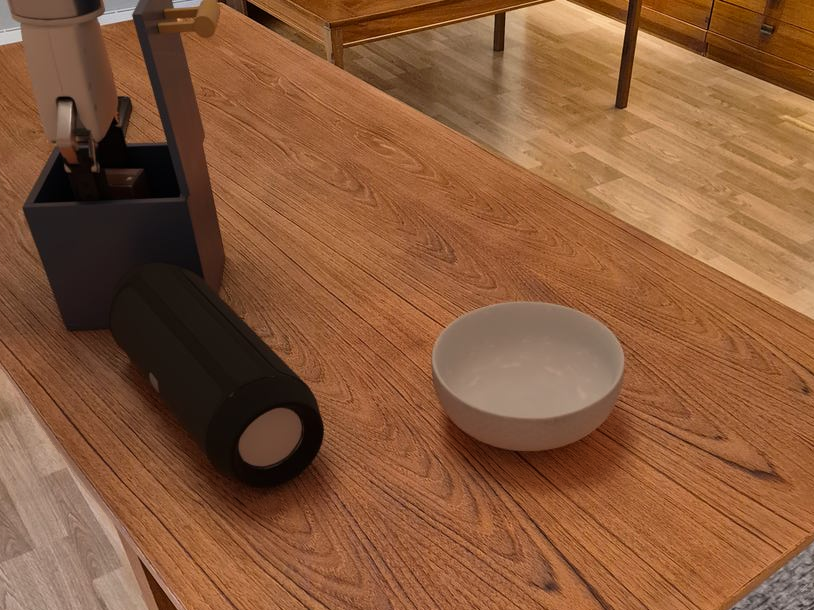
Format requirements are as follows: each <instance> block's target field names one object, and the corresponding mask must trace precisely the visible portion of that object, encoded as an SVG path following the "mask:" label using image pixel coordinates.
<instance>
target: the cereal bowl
mask: <svg viewBox="0 0 814 610" xmlns="http://www.w3.org/2000/svg"><path fill="white" fill-rule="evenodd" d="M625 358H626V357H625V353H624V349H623V347H622V345H621V343H620V341H619V339H618V337H617V336H616V335H615V334H614V333H613V331H612V330H610V328H608V326H606V325H605V324H604V323H602V322H601V321H600V320H598V319H596V318H594V317H593V316H591V315H588V314H587V313H584V312H582V311H580V310H577V309H574V308H573V307H572V308H571V307H568V306H564V305H561V304H555V303H550V302H542V301H507V302H499V303H494V304H490V305H489V304H488V305H486V306H482V307H479V308H476V309H473V310H470V311H468V312H466V313H464V314H462V315H460V316H459V317H457V318H455V319H454V320H453V321H451V322H450V323H449V324H447V325H446V326H445V327H444V329H443V330H442V331H441V332H440V333H439V335H438V336H437V338H436V340H435V342H434V344H433V347H432V351H431V357H430V363H431V366H430V368H431V377H432V384H433V387H434V388H433V389H434V392H435V394H436V397H437V399H438V402H439V404H440V406H441V407H442V410H443V411H444V413H445V415H446V416H447V417H449V419H450V420H451V422H452V423H454V424H455V425H456V427H458V428H459V429H461V430H462V432H464V433H466V434H467V435H469V436H470V437H472V438H474V439H475V440H477V441H479V442H482V443H483V444H485V445H489V446H492V447H493V448H494V447H495V448H499V449H503V450H508V451H514V452H516V451H517V452H541V451H548V450H554V449H558V448H561V447H565V446H568V445H570V444H573V443H576V442H577V441H580V440H582V439H583V438H585V437H587V436H589V435H590V434H591V433H592V432H594V431H595V430H597V428H599V427H600V426H601V425H602V424H603V423H604V422H605V421H606V420H607V418H608V417H609V416H610V415H611V413H612V411H613V410H614V408H615V406H616V404H617V403H618V401H619V397H620V395H621V391H622V389H623V382H624V379H625V378H624V377H625V368H626V367H625V366H626V359H625Z"/></svg>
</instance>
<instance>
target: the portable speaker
mask: <svg viewBox="0 0 814 610" xmlns="http://www.w3.org/2000/svg"><path fill="white" fill-rule="evenodd" d="M109 326H110V328H109V332H110V335H111V336H112V339H113V340H114V342H115V343H116V345H117V346H118V347H119V348H120V349H121V350H122V351H123V352H124V353H125V355H126V357H128V359H129V360H130V361H131V363H132V364H133V365H134V366H135V368H136V369H137V371H138V372H139V373H140V374H141V375H142V377H143V378H144V379H145V380H146V382H147V383H148V384H149V386H150V387H151V388H152V389H153V391H154V392H155V393H156V394H157V396H158V397H159V398H160V400H161V401H162V403H164V405H165V406H166V407H167V409H168V410H169V412H171V414H172V415H173V416H174V418H175V419H176V420H177V422H178V423H179V424H180V425H181V426H182V428H183V429H184V430H185V431H186V433H187V434H188V435H189V437H190V439H192V440H193V442H194V443H195V445H196V446H197V447H198V448H199V450H200V451H201V452H202V454H204V456H205V458H207V460H208V461H209V464H210V465H211V466H212V467H213V469H214V470H215V471H216V472H217V473H219V474H220V475H221V476H224V477H225V478H227V479H229V480H232V481H233V482H236V483H239V484H241V485H243V486H246V487H249V488H253V489H260V490H261V489H262V490H263V489H264V490H265V489H273V488H276V487H280V486H282V485H285V484H287V483H289V482H290V481H293V480H294V479H295V478H297V477H298V476H300V475H301V474H303V473H304V472H305V471H306V470H307V468H309V467H310V466H311V464H312V463H313V461H314V460H315V459H316V458H317V456H318V454H319V452H320V450H321V447H322V444H323V442H324V441H323V440H324V434H325V427H324V426H325V425H324V422H323V418H322V414H321V411H320V407H319V404H318V400H317V398H316V396H315V394H314V393H313V391H312V390H311V388H310V386H309V385H308V384H306V382H305V381H303V379H302V378H301V377H299V375H298V374H297V373H296V372H295V371H294V370H293V369H292V368H291V367H290V366H289V364H288V363H286V362H285V361H284V360H283V359H282V358H281V357H280V356H279V355H278V354H277V353H276V352H275V351H274V350H273V349H272V348H271V347H270V346H269V345H268V344H267V343H266V341H264V339H262V338H261V336H260V335H258V333H256V331H255V330H254V329H252V327H250V326H249V324H248V323H246V321H244V320H243V319H242V317H241V316H240V315H239V314H238V313H237V312H236V311H235V310H234V309H233V308H232V307H230V305H229V304H228V303H227V302H226V301H225V300H224V299H223V298H222V297H221V296H220V294H219V295H218V294H217V293H216V292H215V291H214V290H213V289H212V288H211V287H210V286H209V285H208V284H207V283H206V282H205V281H204V280H203V279H202V278H200V277H199V276H198V275H196V274H195V273H193V272H192V271H190V270H188V269H186V268H183V267H179V266H175V265H170V264H164V263H148V264H144V265H141V266H138V267H136V268H134V269H132V270H130V271H129V272H127V273H126V274H125V275H124V276H122V277H121V278H120V279H119V281H118V282H117V283H116V285H115V286H114V288H113V290H112V292H111V295H110V300H109Z"/></svg>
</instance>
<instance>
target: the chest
mask: <svg viewBox="0 0 814 610" xmlns="http://www.w3.org/2000/svg"><path fill="white" fill-rule="evenodd" d="M126 145H127V149H128V153H129V157H130V161H131V163H130V166H129V167H124V168H113V169H144V171H145V175H146V179H147V183H148V187H149V191H150V194H151V199H132V200H107V201H82V202H76V201H75V198H74V194H73V191H72V188H71V184H70V181H69V178H68V174H67V173H66V170H65V166H64V162H63V161H62V159H61V158H62V156H61V152H60V150H59V149H58V147H57V145H54V147H53V149H52V151H51V152H50V154H49V157H48V158H47V160H46V162H45V164H44V166H43V167H42V170H41V172H40V173H39V175H38V177H37V179H36V181H35V183H34V185H33V186H32V188H31V189H30V192H29V193H28V196H27V197H26V200H25V202H24V203H23V205H22V207H21V209H22V212H23V214H24V217H25V220H26V223H27V226H28V228H29V231H30V233H31V237H32V240H33V242H34V245H35V247H36V250H37V253H38V255H39V259H40V261H41V264H42V267H43V269H44V273H45V275H46V277H47V281H48V283H49V286H50V289H51V292H52V294H53V298H54V301H55V303H56V306H57V309H58V311H59V314H60V316H61V319H62V322H63V324H64V328H65V330H66V331H67V332H70V331H71V332H72V331H87V330H90V331H91V330H105V329H106V330H107V329H109V330H110V326H109V300H110V295H111V292H112V290H113V288H114V286H115V285H116V283H117V282H118V281H119V279H120V278H121V277H122V276H124V275H125V274H126V273H127V272H129V271H130V270H132V269H134V268H136V267H138V266H141V265H144V264H148V263H164V264H170V265H175V266H179V267H183V268H186V269H188V270H190V271H192V272H193V273H195V274H196V275H198V276H199V277H200V278H202V279H203V280H204V281H205V282H206V283H207V284H208V285H209V286H210V287H211V288H212V289H213V290H214V291H215V292H216V293H217V294H218V295H219V296H220V290H221V285H222V278H223V273H224V266H225V260H226V252H225V246H224V243H223V237H222V233H221V227H220V223H219V218H218V213H217V212H218V211H217V208H216V207H217V206H216V202H215V198H214V192H213V187H212V183H211V178H210V173H209V167H208V163H207V158H206V153H205V148H204V145H203V146H202V150H201V154H200V158H199V163H198V167H197V171H196V175H195V179H194V183H193V187H192V191H191V195H190V196H182V195H181V192H180V188H179V184H178V181H177V177H176V173H175V170H174V166H173V163H172V159H171V155H170V152H169V148H168V144H167V141H160V142H159V141H155V142H153V141H152V142H129V143H127V142H126ZM78 146H79V148H78V149H79V150H83V151H84V152H85V153H86V154H87V155H88V157H89V147H88V145H78Z"/></svg>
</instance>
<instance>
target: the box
mask: <svg viewBox="0 0 814 610" xmlns="http://www.w3.org/2000/svg"><path fill="white" fill-rule="evenodd" d="M104 169H105V173H106V176H107V180H108V184H109V188H110V191H111V195H112V199H113V200H132V199H151V194H150V191H149V187H148V183H147V179H146V175H145V171H144V169H113V168H104Z"/></svg>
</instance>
